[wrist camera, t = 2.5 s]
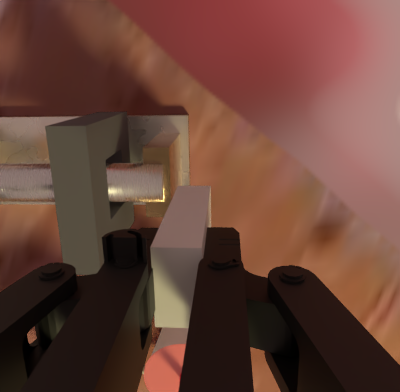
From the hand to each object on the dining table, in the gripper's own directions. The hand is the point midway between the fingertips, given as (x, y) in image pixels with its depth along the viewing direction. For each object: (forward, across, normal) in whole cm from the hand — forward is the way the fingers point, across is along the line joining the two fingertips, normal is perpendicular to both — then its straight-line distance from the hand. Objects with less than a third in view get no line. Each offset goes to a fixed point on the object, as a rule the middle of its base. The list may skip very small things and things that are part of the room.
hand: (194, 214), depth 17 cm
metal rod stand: (+13, -11, 0) cm, 17 cm away
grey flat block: (+10, -6, 0) cm, 12 cm away
